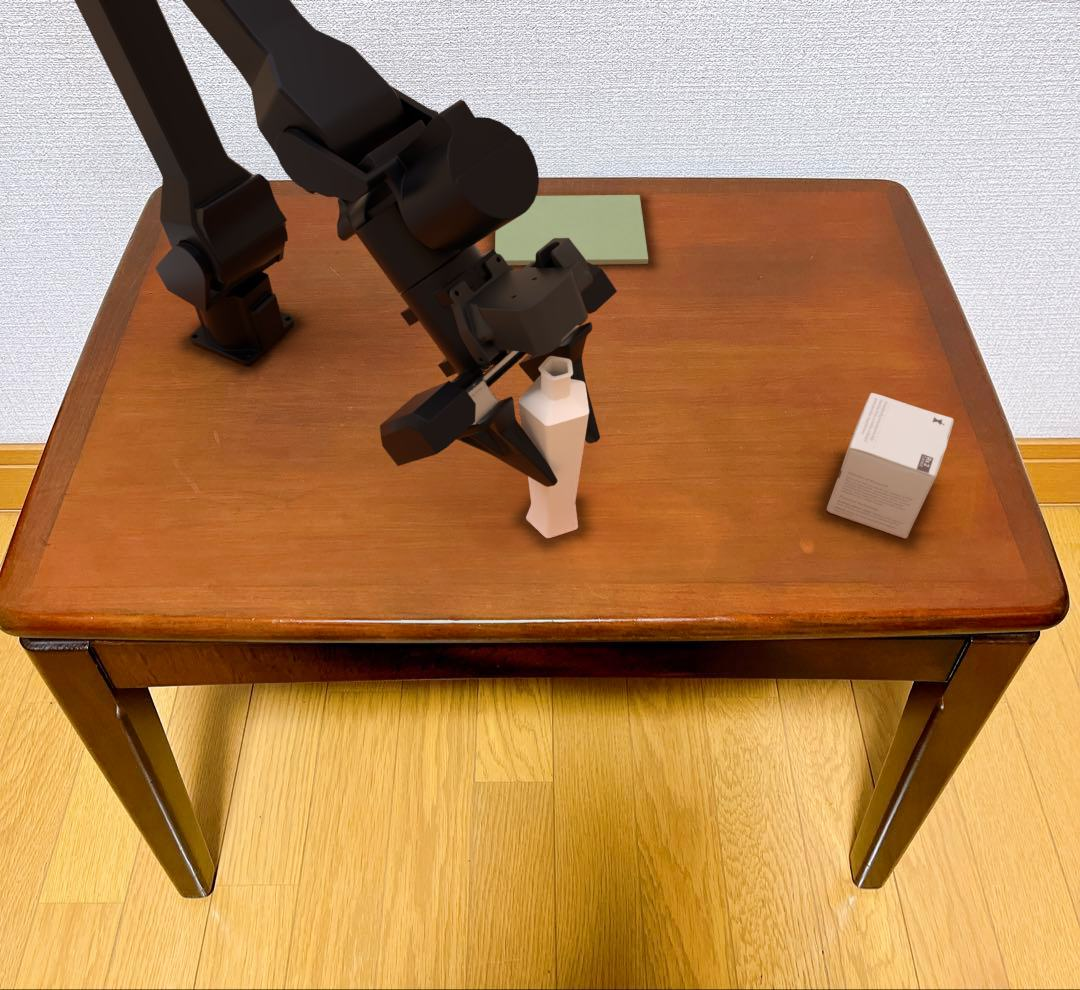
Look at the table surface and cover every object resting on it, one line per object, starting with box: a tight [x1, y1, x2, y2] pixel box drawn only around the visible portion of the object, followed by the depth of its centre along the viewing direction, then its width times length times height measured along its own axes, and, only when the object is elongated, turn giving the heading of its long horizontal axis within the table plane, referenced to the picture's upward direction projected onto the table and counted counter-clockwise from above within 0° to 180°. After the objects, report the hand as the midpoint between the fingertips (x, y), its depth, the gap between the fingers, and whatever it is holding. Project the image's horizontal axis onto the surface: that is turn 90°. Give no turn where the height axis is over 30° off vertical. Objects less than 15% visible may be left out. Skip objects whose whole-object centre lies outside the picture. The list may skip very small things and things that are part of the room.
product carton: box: [826, 392, 955, 539], centre depth 72 cm, size 6×6×7 cm
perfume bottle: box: [518, 356, 589, 539], centre depth 68 cm, size 5×4×15 cm
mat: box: [494, 194, 649, 266], centre depth 96 cm, size 14×10×1 cm
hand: (573, 462), depth 68 cm, fingers closed on perfume bottle, 4 cm apart
